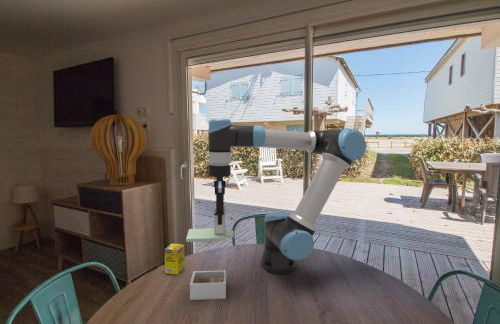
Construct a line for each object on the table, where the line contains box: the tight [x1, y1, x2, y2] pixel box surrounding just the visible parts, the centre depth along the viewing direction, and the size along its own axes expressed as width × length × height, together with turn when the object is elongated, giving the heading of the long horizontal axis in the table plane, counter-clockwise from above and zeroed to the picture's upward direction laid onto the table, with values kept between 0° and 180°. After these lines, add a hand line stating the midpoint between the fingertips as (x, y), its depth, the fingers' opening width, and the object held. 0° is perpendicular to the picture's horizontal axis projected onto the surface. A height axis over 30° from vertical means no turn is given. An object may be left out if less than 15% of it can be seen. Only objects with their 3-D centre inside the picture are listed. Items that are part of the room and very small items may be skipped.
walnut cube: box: [196, 278, 208, 283], centre depth 96 cm, size 4×4×4 cm
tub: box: [189, 269, 227, 301], centre depth 96 cm, size 12×9×6 cm
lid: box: [185, 205, 235, 243], centre depth 94 cm, size 16×10×10 cm, turn 97°
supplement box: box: [164, 243, 185, 276], centre depth 111 cm, size 6×6×11 cm
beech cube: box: [210, 278, 222, 283], centre depth 97 cm, size 4×4×4 cm
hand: (219, 231), depth 95 cm, fingers closed on lid, 3 cm apart
